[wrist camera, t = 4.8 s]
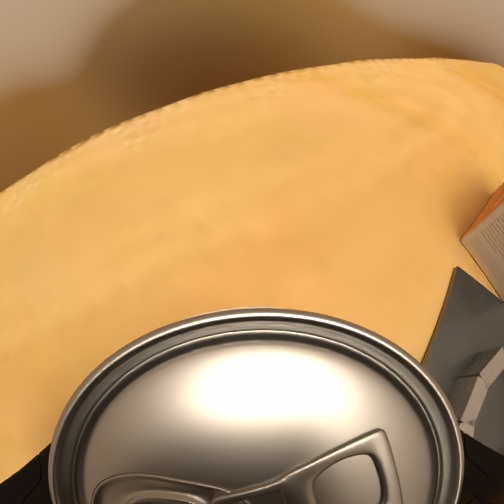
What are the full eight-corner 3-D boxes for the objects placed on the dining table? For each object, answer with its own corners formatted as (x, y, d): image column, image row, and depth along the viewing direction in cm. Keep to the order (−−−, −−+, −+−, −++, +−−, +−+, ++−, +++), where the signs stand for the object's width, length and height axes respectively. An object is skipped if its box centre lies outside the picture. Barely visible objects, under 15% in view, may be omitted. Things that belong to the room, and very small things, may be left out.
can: (167, 370, 14) (-10, 327, 3) (291, 338, 15) (413, 220, 4) (203, 485, 12) (131, 649, 1) (327, 452, 12) (490, 552, 1)
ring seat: (473, 556, 7) (490, 564, 5) (316, 529, 10) (326, 548, 8) (560, 360, 14) (578, 354, 11) (454, 268, 17) (475, 253, 15)
